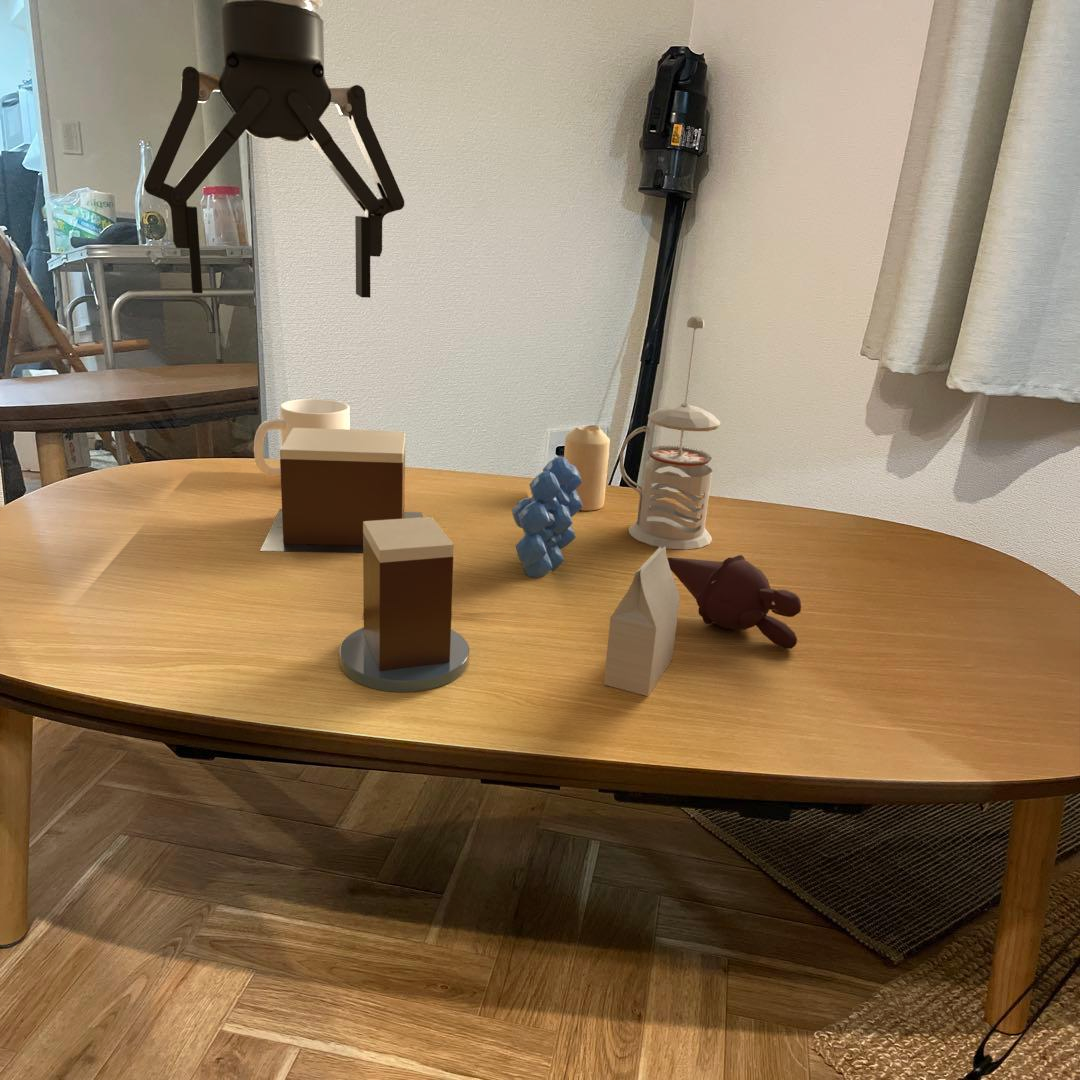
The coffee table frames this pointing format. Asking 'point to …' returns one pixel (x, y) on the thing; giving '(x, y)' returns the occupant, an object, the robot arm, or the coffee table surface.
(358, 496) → the cake
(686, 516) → the french press
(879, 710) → the coffee table surface
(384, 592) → the cake slice
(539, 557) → the grapes
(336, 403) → the cup
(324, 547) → the cake board
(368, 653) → the plate
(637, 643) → the beige milk carton
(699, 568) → the icecream
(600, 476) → the candle
